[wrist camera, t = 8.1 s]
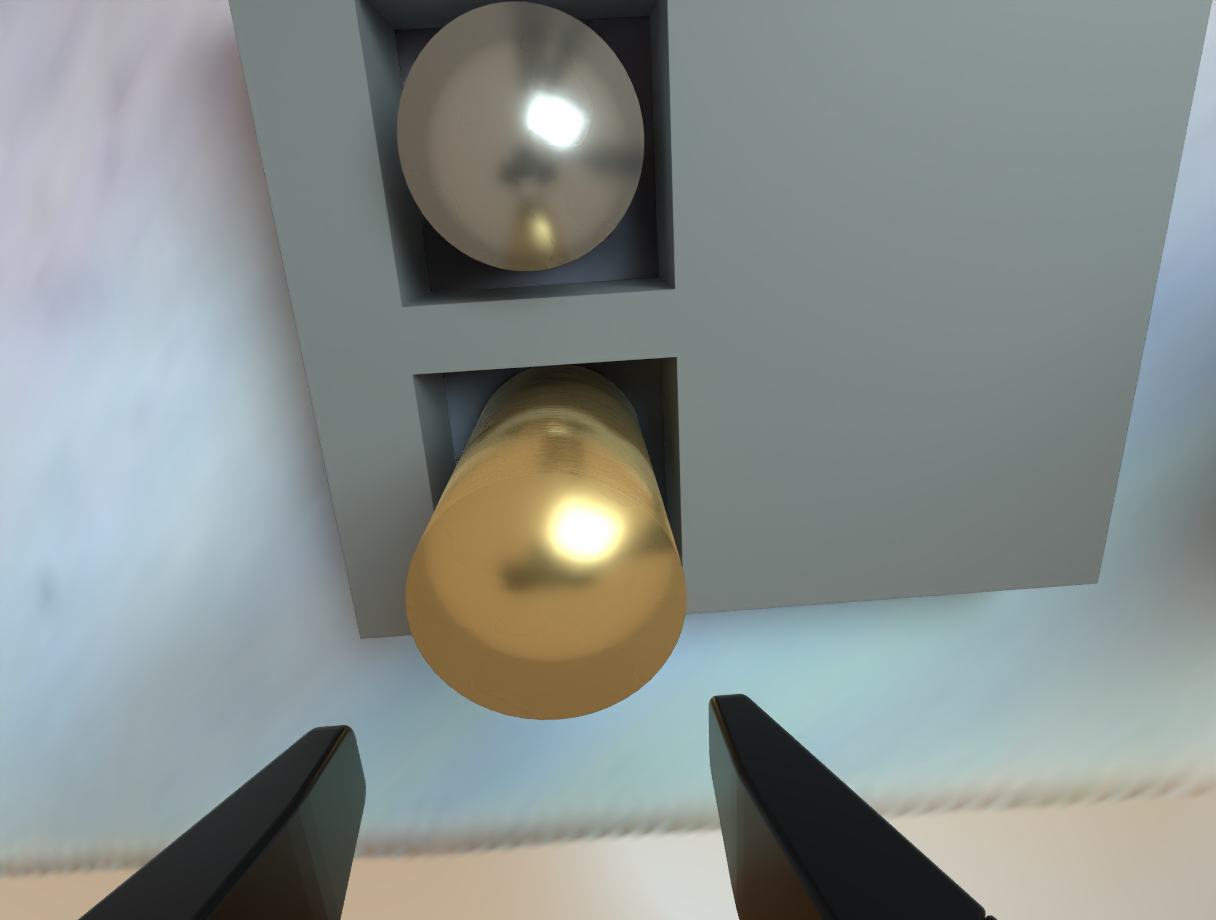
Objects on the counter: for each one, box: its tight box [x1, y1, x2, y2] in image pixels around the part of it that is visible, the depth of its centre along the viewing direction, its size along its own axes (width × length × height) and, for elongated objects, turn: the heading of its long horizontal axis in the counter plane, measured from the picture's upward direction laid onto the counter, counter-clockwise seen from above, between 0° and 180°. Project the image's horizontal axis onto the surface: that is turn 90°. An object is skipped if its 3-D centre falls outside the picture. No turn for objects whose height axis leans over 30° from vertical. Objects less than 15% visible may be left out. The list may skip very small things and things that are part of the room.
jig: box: [229, 0, 1212, 639], centre depth 16 cm, size 18×14×3 cm
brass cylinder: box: [405, 364, 687, 720], centre depth 15 cm, size 4×4×8 cm
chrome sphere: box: [397, 2, 644, 271], centre depth 14 cm, size 4×4×4 cm
